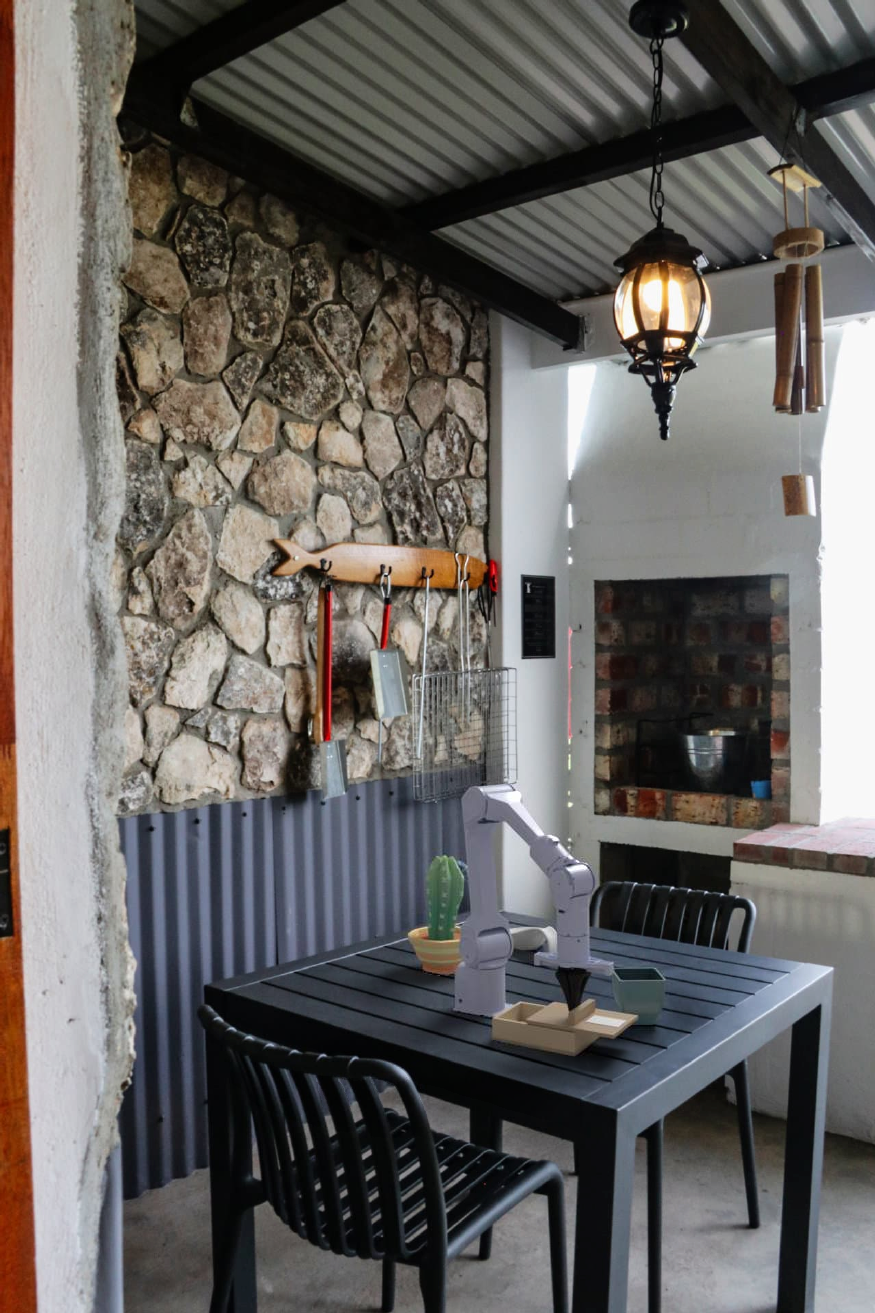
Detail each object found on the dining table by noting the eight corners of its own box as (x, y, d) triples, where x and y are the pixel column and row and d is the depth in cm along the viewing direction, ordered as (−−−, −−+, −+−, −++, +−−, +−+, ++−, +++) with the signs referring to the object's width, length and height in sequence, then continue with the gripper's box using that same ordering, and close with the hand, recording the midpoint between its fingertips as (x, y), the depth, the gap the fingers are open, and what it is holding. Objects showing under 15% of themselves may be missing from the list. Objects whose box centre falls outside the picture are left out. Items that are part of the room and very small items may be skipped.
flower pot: (656, 1013, 207) (655, 966, 207) (667, 1029, 198) (666, 980, 198) (610, 1014, 207) (610, 967, 207) (620, 1030, 198) (619, 981, 198)
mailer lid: (525, 1023, 189) (525, 1008, 189) (553, 1005, 199) (553, 990, 199) (613, 1038, 181) (613, 1023, 181) (638, 1019, 191) (638, 1004, 191)
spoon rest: (492, 944, 261) (491, 914, 261) (535, 939, 265) (535, 909, 265) (536, 969, 239) (536, 936, 239) (583, 963, 243) (582, 931, 243)
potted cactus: (478, 979, 231) (476, 862, 231) (406, 980, 231) (404, 863, 231) (477, 960, 246) (475, 850, 246) (409, 960, 246) (408, 851, 247)
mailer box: (492, 1040, 193) (492, 1018, 193) (520, 1023, 202) (520, 1001, 202) (574, 1056, 185) (574, 1033, 185) (599, 1037, 194) (599, 1014, 194)
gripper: (526, 933, 191) (527, 1010, 191) (602, 943, 184) (603, 1023, 183) (543, 925, 197) (544, 999, 197) (618, 934, 190) (619, 1012, 189)
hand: (574, 1010), depth 191 cm, fingers closed
